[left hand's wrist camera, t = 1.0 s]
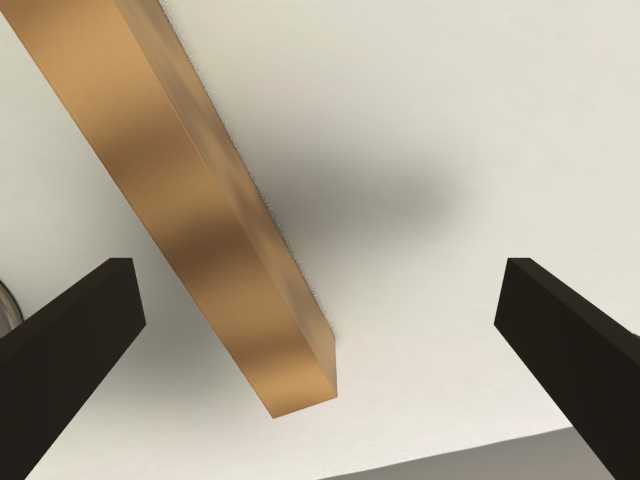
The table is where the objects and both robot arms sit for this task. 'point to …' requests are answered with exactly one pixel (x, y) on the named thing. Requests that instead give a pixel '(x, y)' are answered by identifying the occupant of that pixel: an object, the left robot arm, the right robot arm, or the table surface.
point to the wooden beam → (184, 185)
